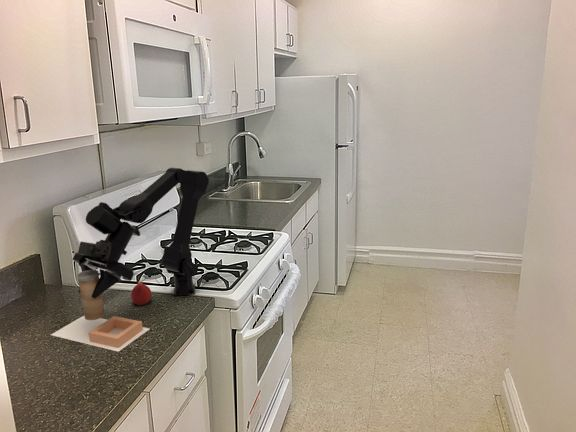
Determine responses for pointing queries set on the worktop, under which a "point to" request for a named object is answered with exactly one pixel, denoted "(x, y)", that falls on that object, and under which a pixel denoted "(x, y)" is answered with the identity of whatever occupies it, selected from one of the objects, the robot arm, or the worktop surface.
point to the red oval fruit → (141, 294)
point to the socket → (105, 338)
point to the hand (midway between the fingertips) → (86, 295)
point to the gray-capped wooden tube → (90, 295)
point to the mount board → (83, 327)
